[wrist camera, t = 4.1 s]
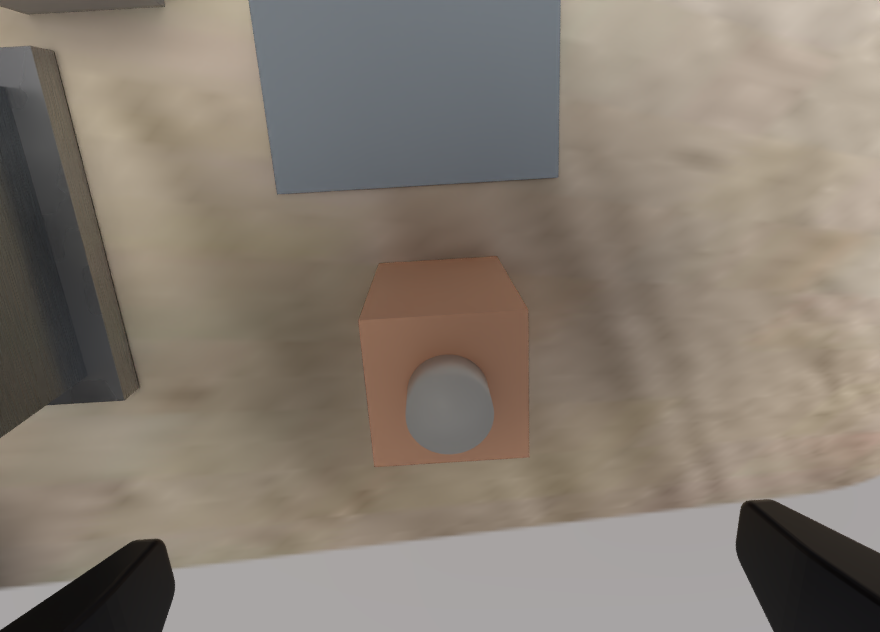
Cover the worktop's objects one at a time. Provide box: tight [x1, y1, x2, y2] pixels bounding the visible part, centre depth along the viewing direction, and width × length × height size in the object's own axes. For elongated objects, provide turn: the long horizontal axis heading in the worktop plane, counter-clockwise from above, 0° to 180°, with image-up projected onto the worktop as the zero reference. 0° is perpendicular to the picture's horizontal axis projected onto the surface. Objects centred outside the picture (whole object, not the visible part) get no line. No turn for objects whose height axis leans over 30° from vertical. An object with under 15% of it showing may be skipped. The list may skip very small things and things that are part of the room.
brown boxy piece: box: [358, 256, 529, 467], centre depth 16 cm, size 4×4×7 cm
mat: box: [249, 0, 560, 194], centre depth 16 cm, size 9×9×1 cm
